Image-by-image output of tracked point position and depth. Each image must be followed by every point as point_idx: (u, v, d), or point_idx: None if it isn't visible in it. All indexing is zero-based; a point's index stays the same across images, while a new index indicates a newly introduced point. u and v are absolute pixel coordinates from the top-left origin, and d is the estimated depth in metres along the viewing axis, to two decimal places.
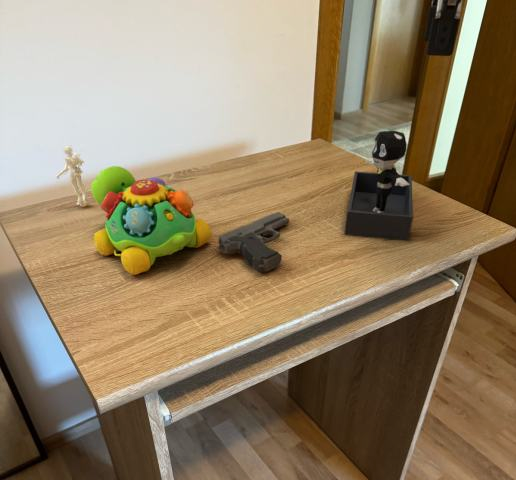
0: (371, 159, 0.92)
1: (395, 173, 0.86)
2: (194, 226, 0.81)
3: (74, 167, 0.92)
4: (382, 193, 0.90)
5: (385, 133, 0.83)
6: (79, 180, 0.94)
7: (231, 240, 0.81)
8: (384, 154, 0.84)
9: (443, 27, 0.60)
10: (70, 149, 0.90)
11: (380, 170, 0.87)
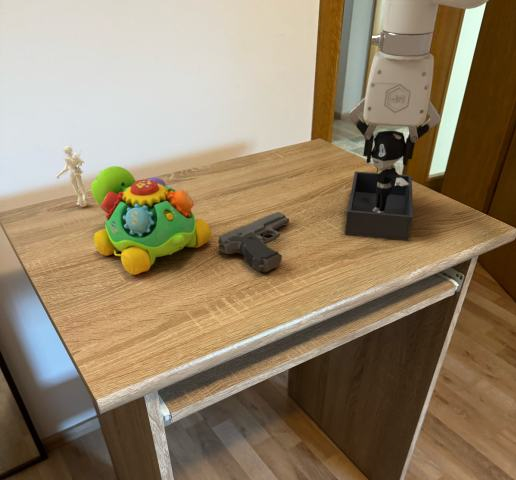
0: (371, 159, 0.92)
1: (395, 173, 0.86)
2: (194, 226, 0.81)
3: (74, 167, 0.92)
4: (382, 193, 0.90)
5: (384, 133, 0.83)
6: (79, 180, 0.94)
7: (231, 240, 0.81)
8: (383, 154, 0.84)
9: None
10: (70, 149, 0.90)
11: (380, 170, 0.87)
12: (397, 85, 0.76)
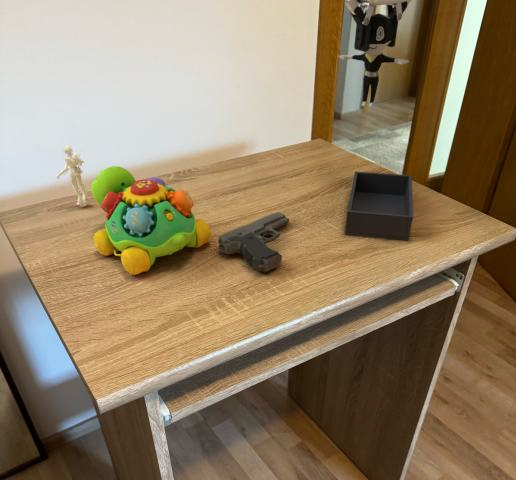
0: (344, 55, 0.92)
1: (387, 56, 0.89)
2: (194, 226, 0.81)
3: (74, 167, 0.92)
4: (375, 82, 0.92)
5: (377, 16, 0.84)
6: (79, 180, 0.94)
7: (231, 240, 0.81)
8: (382, 37, 0.86)
9: (358, 29, 0.85)
10: (70, 149, 0.90)
11: (372, 58, 0.89)
12: None
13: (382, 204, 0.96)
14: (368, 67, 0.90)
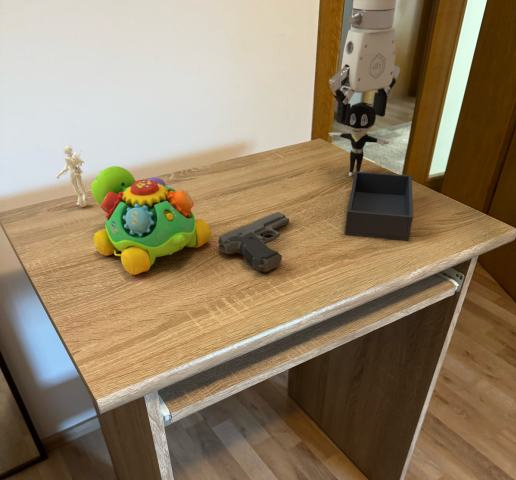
0: (333, 133, 1.05)
1: (370, 137, 1.02)
2: (194, 226, 0.81)
3: (74, 167, 0.92)
4: (360, 157, 1.04)
5: (362, 105, 0.97)
6: (79, 180, 0.94)
7: (231, 240, 0.81)
8: (366, 123, 0.98)
9: (339, 107, 0.96)
10: (70, 149, 0.90)
11: (357, 138, 1.02)
12: (377, 54, 0.90)
13: (382, 204, 0.96)
14: (354, 145, 1.03)
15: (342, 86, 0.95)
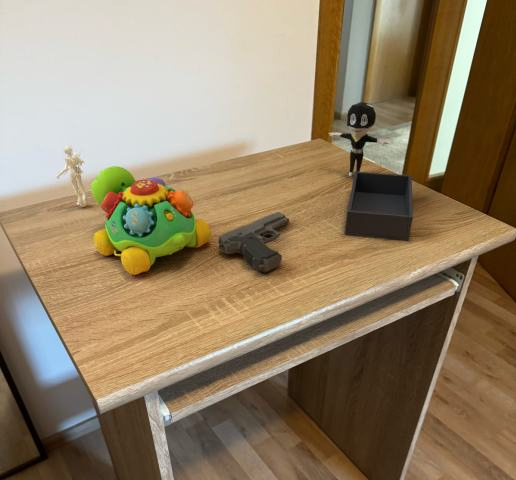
0: (333, 133, 1.05)
1: (370, 137, 1.02)
2: (194, 226, 0.81)
3: (74, 167, 0.92)
4: (360, 157, 1.04)
5: (362, 105, 0.97)
6: (79, 180, 0.94)
7: (231, 240, 0.81)
8: (366, 123, 0.98)
9: None
10: (70, 149, 0.90)
11: (357, 138, 1.02)
12: None
13: (382, 204, 0.96)
14: (354, 145, 1.03)
15: None
